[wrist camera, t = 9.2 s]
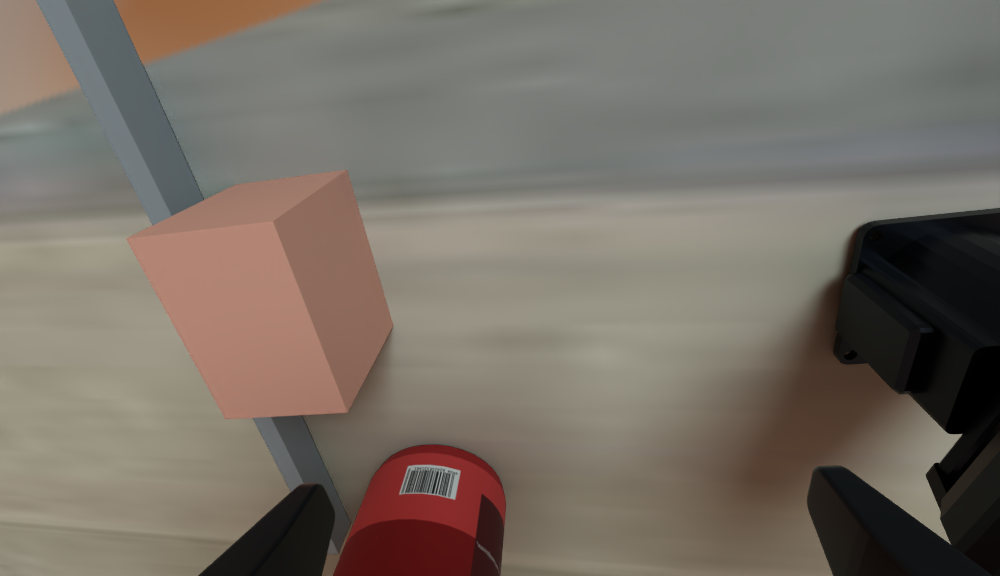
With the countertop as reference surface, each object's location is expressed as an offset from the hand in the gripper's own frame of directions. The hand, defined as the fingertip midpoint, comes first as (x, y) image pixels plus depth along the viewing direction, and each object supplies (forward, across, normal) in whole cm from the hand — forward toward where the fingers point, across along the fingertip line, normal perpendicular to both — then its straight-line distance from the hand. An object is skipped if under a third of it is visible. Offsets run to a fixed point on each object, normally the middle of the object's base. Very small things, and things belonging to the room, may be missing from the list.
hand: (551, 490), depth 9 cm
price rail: (+12, +15, +2) cm, 20 cm away
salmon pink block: (+13, +10, 0) cm, 16 cm away
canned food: (+13, +8, +15) cm, 21 cm away
